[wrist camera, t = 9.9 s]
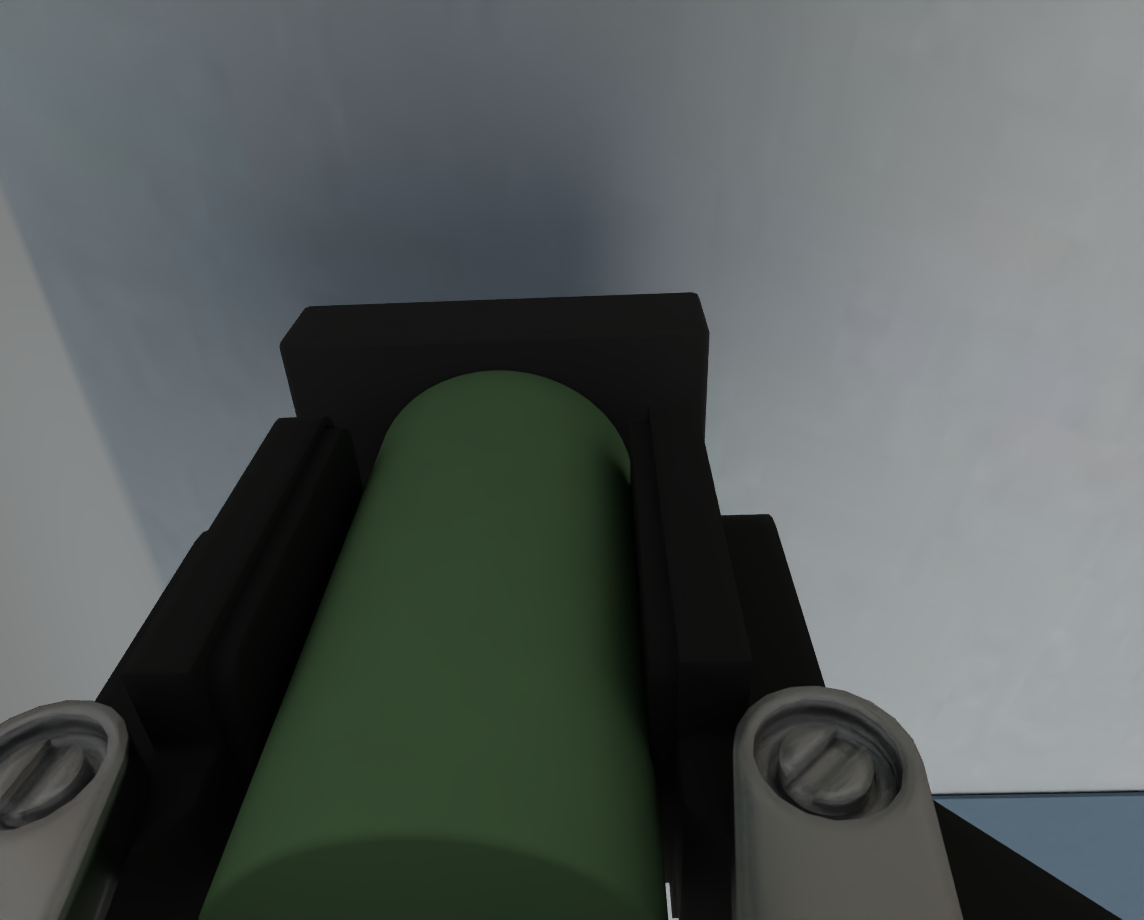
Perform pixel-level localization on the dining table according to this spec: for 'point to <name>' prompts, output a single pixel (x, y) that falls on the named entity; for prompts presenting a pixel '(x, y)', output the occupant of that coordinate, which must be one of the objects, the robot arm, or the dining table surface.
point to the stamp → (472, 622)
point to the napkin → (1071, 839)
